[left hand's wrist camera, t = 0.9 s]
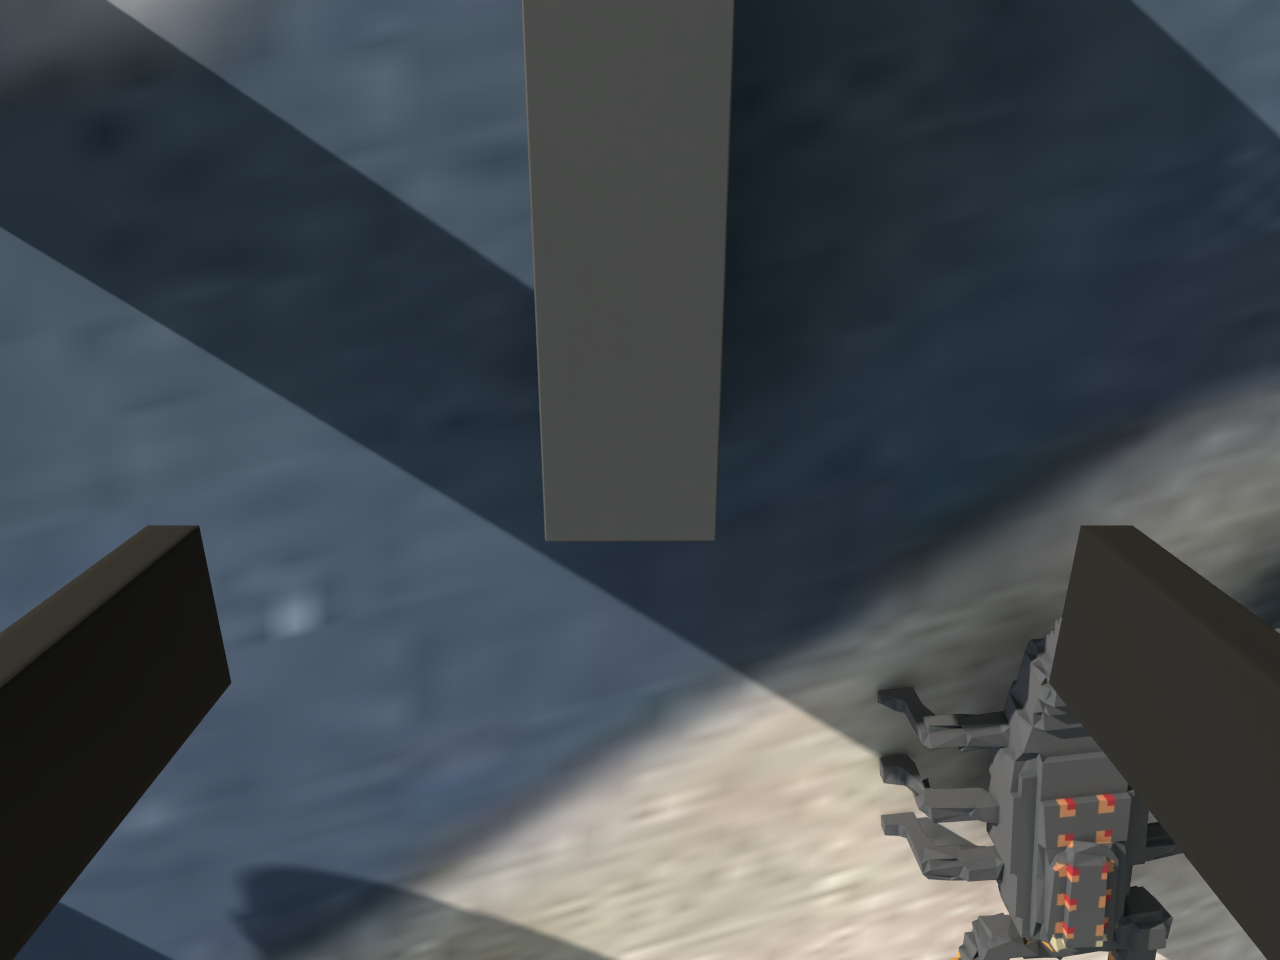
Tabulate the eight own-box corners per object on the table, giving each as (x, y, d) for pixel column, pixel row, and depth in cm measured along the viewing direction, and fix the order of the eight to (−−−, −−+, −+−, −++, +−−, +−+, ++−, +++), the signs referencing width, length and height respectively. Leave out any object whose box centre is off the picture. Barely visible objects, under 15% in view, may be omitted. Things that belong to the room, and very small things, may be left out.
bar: (695, 448, 31) (715, 541, 24) (566, 448, 31) (544, 542, 24) (716, -383, 23) (759, -668, 15) (539, -384, 23) (491, -670, 15)
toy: (1226, 453, 32) (1935, 795, 14) (1158, 963, 41) (1537, 1538, 24) (872, 494, 32) (1150, 873, 15) (885, 989, 41) (1064, 1571, 24)
